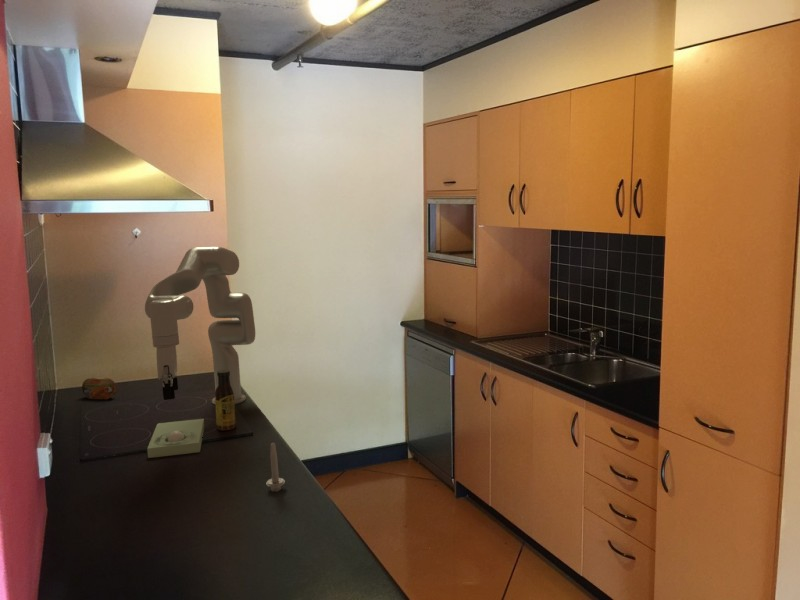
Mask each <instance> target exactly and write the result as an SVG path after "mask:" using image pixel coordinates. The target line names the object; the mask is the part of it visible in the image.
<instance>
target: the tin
mask: <svg viewBox="0 0 800 600" xmlns="http://www.w3.org/2000/svg"><path fill="white" fill-rule="evenodd" d="M81 390H82V393H83V395H84V396H85V397H86V398H88V399H90V400H103V399H104V400H109V399H112V398H113V397H114V396H115V395H116V393H117V386H116V383H115V381H114V380H113V379H112V378H106V377H105V378H103V377H90V378H86V379H85V380H84V381H83V382H82V385H81Z"/></svg>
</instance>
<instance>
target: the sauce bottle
mask: <svg viewBox="0 0 800 600" xmlns="http://www.w3.org/2000/svg"><path fill="white" fill-rule="evenodd" d="M229 375H230V371H229V370H221V371H218V372H217V376H218V387H217V388H216V390H215V394H214V395H215V404H216V405H215V404H214V405H215V421H216V422H215V423H216V430H218V431H221V432H223V431H224V432H225V431H231V430H233V429H235V427H236V408H235V407H236V404H234V393H233V390H232V387H231V385H230V379H229Z"/></svg>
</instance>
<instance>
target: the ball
mask: <svg viewBox="0 0 800 600" xmlns="http://www.w3.org/2000/svg"><path fill="white" fill-rule="evenodd" d="M181 440H184V435H183V433H182V432H180V431H173V432H171V433H170V434H169V436H168V442H178V441H181Z"/></svg>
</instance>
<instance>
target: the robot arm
mask: <svg viewBox="0 0 800 600" xmlns="http://www.w3.org/2000/svg"><path fill="white" fill-rule="evenodd" d="M239 268H240V260H239V257H238V255H237V253H236V252H235V251H233V250H230V249H228V248H224V247H221V246H197V247H191V248H190V249H188V250H187V251H186V252H185V254H184V256H183V258H182V260H181V261H180V263H179V265H178V268H177V269H176V271H175V272H174V273H172V274H170V275H169V276H167V277H165V278H163V279H162V280H160V281H159V282H158V283H156V284H155V285H154V286H153V287H152V288H151V290H150V291H149V294H148V295H147V298H146V300H145V303H144V312H145V314H146V317H147V318H149V319H150V328H151V339H152V347H153V348H156V366H157V371H156V372H157V379H158V380H159V381H160V380H161V379H162V387H161V388H162V395H163V400H164V401H169V400H174V399H175V398H176V394H175V391H177V390H179V385H178V383H179V382H178V377H177V373H178V357H177V356H178V355H177V348H176V346H178V345H179V344H180V340H179V338H180V336H179V327H178V321H180V320H186V319H188V318H189V317H190V316H191V315H192V313H193V312H194V301H193V300H192V299H191V298H190V297H189V296H187V295H184V294H188V293H190V292H192V291H194V290H197V288H198V287H199V286H201V285H200V284H201V282H202V281H203V283H204V286H205V290H206V291H205V292H206V299H207V306H208V311H209V314H210V316H211V317H212V318H215V319H221V320H216V321H213V322H212V323H210V324H209V326H208V328H207V334H208V339H209V342H210V343H209V344H210V346H211V351H212V352H211V353H212V363H213V378H214V387H215V388H214V389H215V391H216V388H217V387H218V376H217V372H218V371H221V370H229V371H230V375H229V379H230V385H231V387H232V390H233V393H234V404H235V405H238V404H240V403H243V402H244V401H245V400H246V398H247V397H246V395H245V394H243V393H242V389H241V388H242V385H241V375H240V374H241V373H240V372H241V371H240V360H239V354H238V352H237V350H236V348H234V346H246V345H251V344H253V343H254V342H255V339H256V326H255V317H254V310H253V303H252V299H251V297H250V295H248V294H247V293H245V292H231V290H230V283H229V278H228V277H227V276H232V275H235V274H236V273H238V271H239ZM222 319H223V320H222ZM224 319H225V320H224ZM227 319H228V320H227ZM233 319H234V320H233ZM236 319H237V320H236ZM211 403H212V404H213V405H215V406H216V404H215V397H213V398H212V400H211Z"/></svg>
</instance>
